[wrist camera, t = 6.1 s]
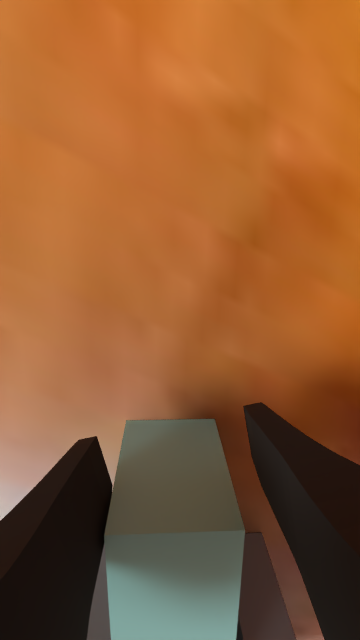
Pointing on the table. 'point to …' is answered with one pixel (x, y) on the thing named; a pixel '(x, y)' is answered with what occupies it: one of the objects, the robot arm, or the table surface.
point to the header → (254, 603)
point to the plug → (173, 535)
